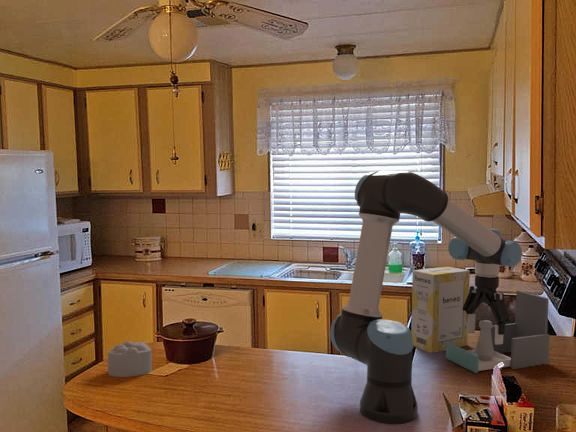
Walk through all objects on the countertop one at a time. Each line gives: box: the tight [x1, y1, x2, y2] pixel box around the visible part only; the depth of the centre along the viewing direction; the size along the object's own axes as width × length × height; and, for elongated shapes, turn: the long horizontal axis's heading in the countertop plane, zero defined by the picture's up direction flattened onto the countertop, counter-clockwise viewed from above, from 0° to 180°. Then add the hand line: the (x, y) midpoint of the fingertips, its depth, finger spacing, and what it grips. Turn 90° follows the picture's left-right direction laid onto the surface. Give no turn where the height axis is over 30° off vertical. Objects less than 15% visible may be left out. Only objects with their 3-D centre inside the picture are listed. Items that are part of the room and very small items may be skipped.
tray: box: [445, 342, 511, 374], centre depth 185 cm, size 16×15×6 cm
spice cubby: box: [491, 290, 550, 370], centre depth 189 cm, size 15×15×22 cm
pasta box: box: [410, 266, 471, 354], centre depth 205 cm, size 18×10×28 cm, turn 120°
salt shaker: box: [475, 319, 494, 361], centre depth 185 cm, size 6×6×13 cm
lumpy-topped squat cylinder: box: [107, 340, 153, 378], centre depth 177 cm, size 10×13×9 cm
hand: (484, 338), depth 185 cm, fingers open, 13 cm apart
